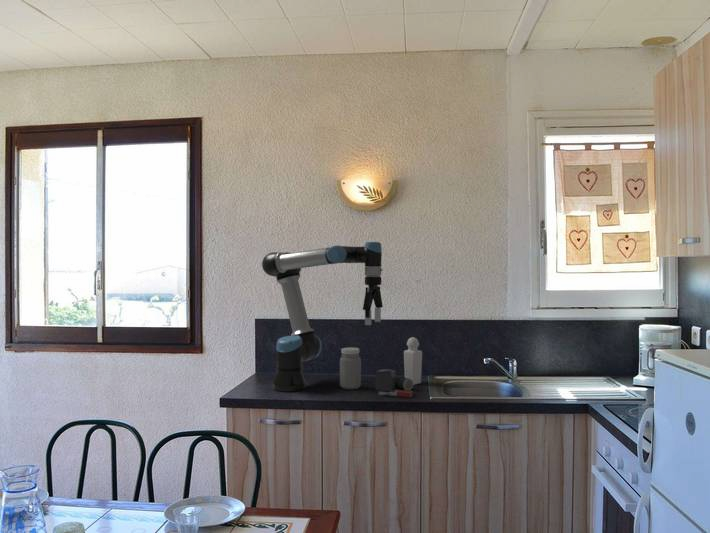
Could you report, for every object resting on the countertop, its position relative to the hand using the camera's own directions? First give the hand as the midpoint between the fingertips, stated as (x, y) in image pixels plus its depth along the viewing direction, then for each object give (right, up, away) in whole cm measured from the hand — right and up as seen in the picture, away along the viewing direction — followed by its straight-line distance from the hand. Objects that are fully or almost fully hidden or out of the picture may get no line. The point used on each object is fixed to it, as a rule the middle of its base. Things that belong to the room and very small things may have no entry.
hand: (372, 323), depth 244 cm
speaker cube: (+5, -28, -6) cm, 30 cm away
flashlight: (+12, -31, +8) cm, 34 cm away
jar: (-10, -31, +7) cm, 33 cm away
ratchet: (+9, -31, -7) cm, 33 cm away
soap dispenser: (+20, -31, +16) cm, 40 cm away
